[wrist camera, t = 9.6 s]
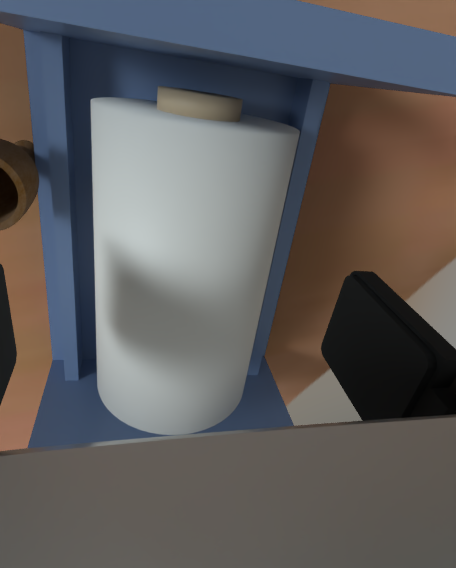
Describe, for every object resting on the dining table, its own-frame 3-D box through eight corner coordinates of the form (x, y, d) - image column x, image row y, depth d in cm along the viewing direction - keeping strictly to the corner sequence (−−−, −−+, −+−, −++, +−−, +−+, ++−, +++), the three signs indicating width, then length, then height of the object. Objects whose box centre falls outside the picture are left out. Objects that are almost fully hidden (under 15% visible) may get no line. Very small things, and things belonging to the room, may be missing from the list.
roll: (96, 73, 14) (79, 81, 8) (265, 98, 15) (343, 119, 10) (100, 344, 19) (93, 454, 14) (223, 340, 21) (259, 436, 16)
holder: (27, -4, 13) (-131, -98, 5) (326, 55, 16) (504, 47, 8) (57, 362, 20) (9, 539, 13) (256, 358, 23) (314, 503, 16)
